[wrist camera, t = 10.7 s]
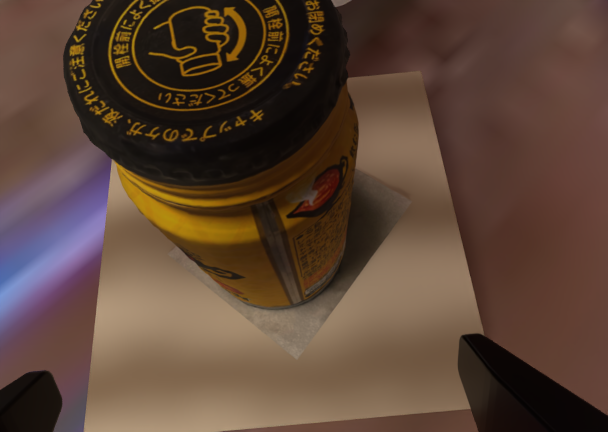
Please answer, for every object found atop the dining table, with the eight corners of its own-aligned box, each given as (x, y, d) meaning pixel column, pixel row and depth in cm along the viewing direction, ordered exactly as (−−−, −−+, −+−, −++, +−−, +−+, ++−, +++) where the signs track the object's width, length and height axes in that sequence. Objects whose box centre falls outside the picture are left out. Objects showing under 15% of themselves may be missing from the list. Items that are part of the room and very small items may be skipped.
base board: (474, 401, 18) (501, 405, 15) (119, 433, 18) (82, 443, 16) (409, 106, 24) (420, 70, 21) (141, 132, 24) (118, 100, 22)
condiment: (169, 255, 18) (-73, 64, 7) (286, 125, 21) (241, -174, 9) (297, 360, 16) (239, 320, 5) (411, 204, 19) (538, -54, 8)
